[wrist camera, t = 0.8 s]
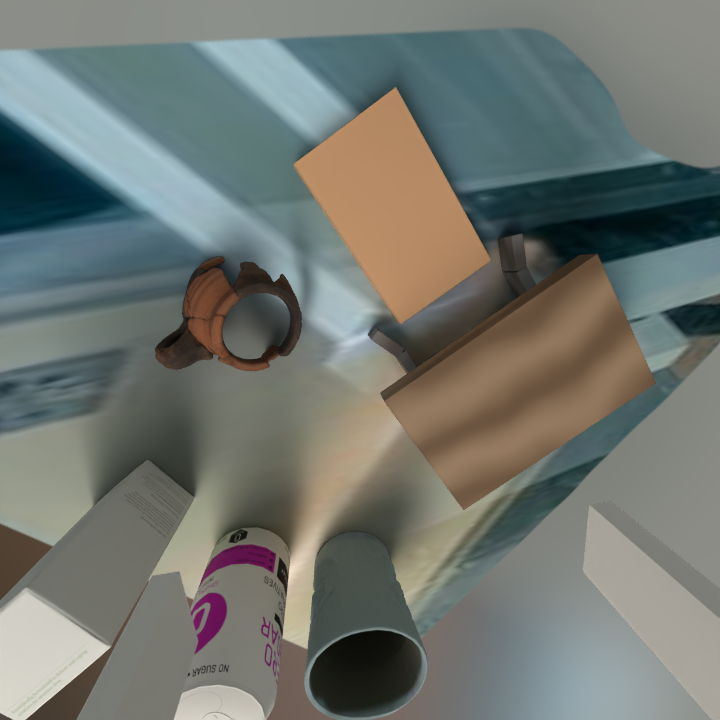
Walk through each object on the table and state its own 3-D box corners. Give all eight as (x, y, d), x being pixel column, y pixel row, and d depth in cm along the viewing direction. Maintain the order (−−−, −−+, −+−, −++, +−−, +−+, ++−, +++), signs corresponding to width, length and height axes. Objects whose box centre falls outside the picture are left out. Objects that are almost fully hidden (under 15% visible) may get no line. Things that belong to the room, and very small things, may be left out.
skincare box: (140, 544, 37) (18, 731, 22) (87, 505, 35) (-83, 678, 20) (198, 495, 37) (115, 652, 22) (147, 452, 35) (18, 591, 20)
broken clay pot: (237, 226, 31) (272, 244, 25) (292, 306, 38) (331, 336, 32) (117, 311, 29) (125, 352, 23) (197, 381, 35) (219, 428, 29)
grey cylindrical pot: (290, 570, 40) (278, 693, 28) (349, 507, 39) (361, 608, 27) (358, 611, 42) (373, 739, 31) (415, 552, 41) (453, 663, 30)
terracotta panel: (295, 170, 31) (293, 164, 29) (391, 98, 30) (395, 87, 28) (396, 321, 35) (400, 324, 33) (481, 260, 34) (491, 260, 32)
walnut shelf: (348, 344, 34) (355, 362, 28) (524, 220, 33) (576, 207, 27) (438, 468, 39) (463, 510, 32) (595, 362, 38) (655, 383, 31)
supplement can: (196, 554, 38) (121, 727, 24) (255, 508, 38) (215, 658, 23) (249, 598, 40) (209, 782, 26) (305, 555, 40) (298, 719, 25)
